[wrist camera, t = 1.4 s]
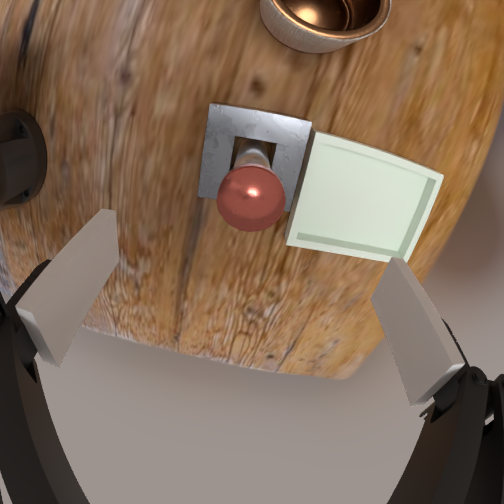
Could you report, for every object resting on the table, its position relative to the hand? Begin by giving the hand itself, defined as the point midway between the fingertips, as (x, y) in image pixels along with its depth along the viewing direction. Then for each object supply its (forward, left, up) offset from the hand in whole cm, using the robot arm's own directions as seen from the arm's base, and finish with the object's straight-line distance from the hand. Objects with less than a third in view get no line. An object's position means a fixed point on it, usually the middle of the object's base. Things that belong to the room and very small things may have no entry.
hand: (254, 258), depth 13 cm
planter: (+3, +18, -22) cm, 28 cm away
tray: (+15, -3, -22) cm, 26 cm away
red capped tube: (0, 0, -22) cm, 22 cm away
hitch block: (0, 0, -22) cm, 22 cm away
